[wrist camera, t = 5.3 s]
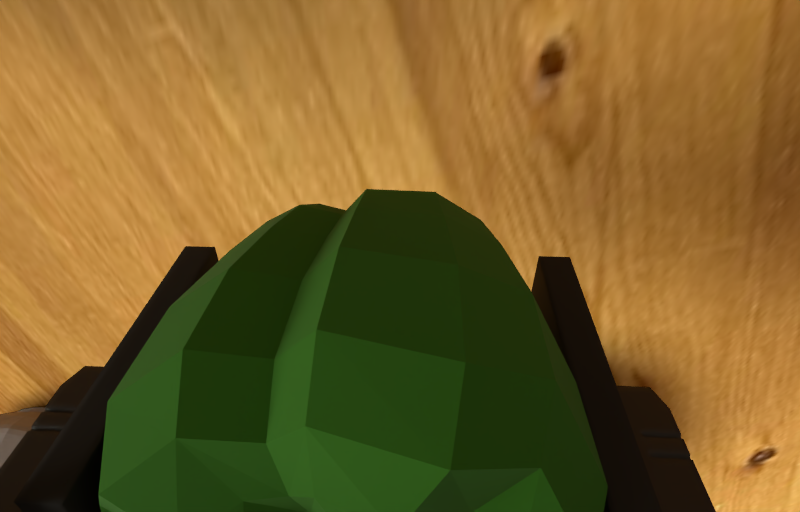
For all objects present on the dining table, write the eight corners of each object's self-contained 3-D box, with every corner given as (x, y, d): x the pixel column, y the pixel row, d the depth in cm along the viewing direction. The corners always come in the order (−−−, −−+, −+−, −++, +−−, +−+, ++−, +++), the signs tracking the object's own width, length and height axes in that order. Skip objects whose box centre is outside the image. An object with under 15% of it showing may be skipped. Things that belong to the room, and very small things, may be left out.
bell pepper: (299, 386, 17) (180, 832, 9) (173, 176, 12) (-305, 720, 4) (551, 352, 15) (678, 863, 7) (516, 93, 11) (763, 732, 3)
